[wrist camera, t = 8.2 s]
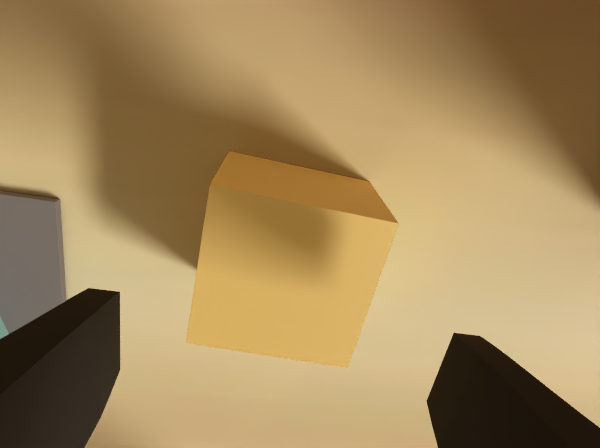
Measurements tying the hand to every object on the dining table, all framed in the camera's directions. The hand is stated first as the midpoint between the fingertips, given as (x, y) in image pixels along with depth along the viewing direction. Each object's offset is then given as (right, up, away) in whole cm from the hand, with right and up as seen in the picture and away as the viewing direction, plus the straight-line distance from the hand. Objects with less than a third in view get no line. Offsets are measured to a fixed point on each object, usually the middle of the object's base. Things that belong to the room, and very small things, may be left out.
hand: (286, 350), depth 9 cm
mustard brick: (0, +3, +6) cm, 7 cm away
